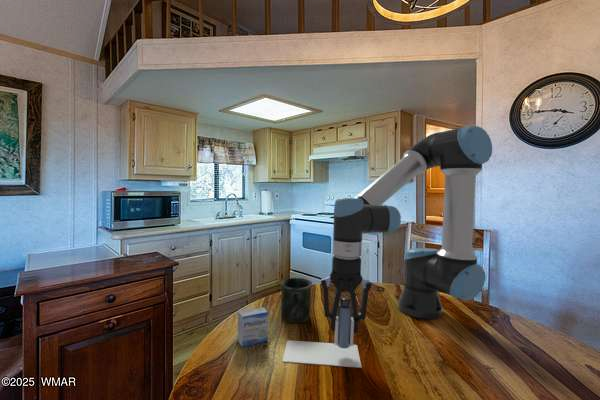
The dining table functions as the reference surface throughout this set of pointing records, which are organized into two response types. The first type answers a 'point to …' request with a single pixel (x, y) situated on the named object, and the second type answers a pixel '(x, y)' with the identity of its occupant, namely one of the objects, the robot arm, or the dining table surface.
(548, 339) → the dining table surface
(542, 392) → the dining table surface
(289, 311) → the mug
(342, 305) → the marker
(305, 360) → the paper
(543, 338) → the dining table surface
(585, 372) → the dining table surface
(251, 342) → the medicine box
